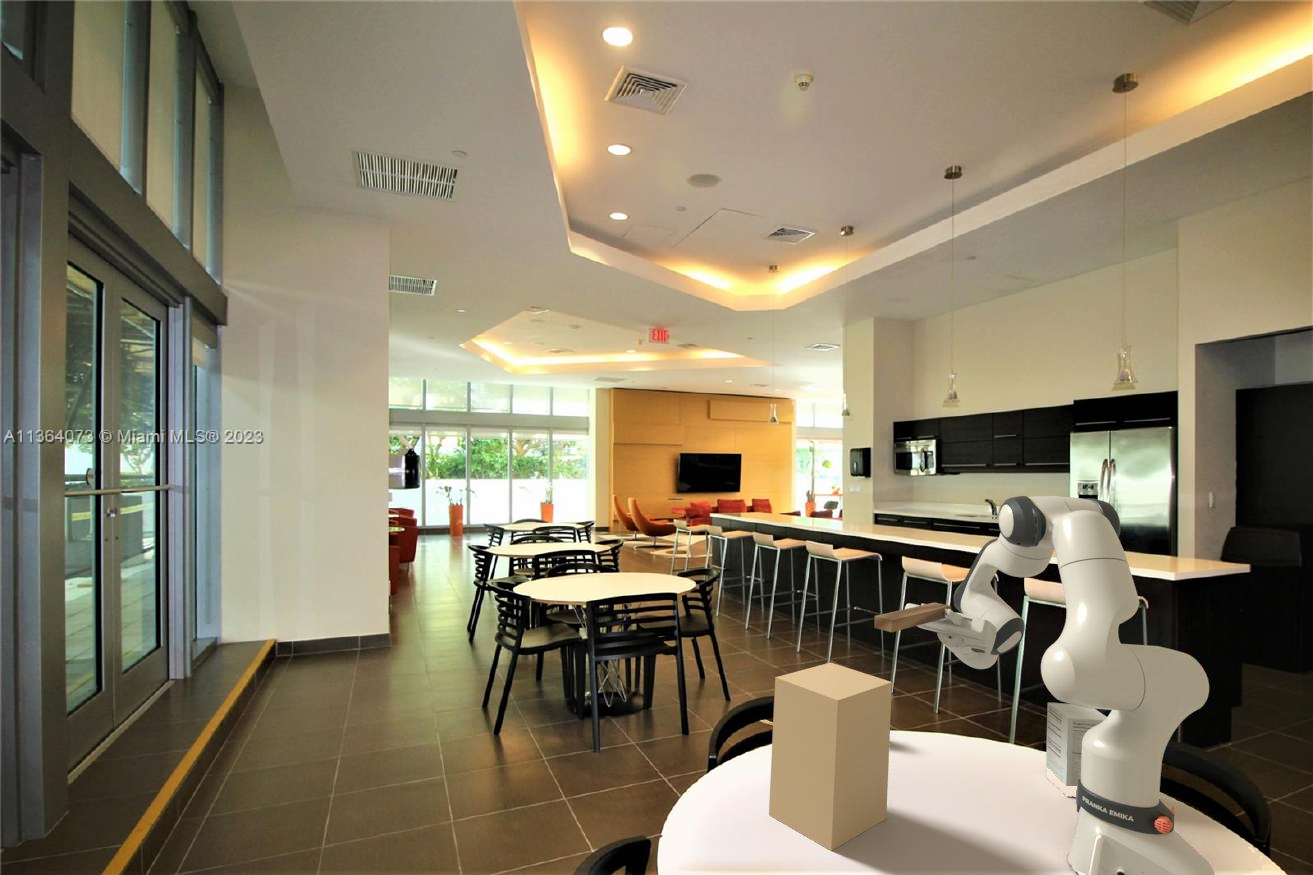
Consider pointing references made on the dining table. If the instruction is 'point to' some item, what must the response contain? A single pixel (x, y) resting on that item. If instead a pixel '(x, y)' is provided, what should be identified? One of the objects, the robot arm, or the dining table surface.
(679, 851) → the dining table surface
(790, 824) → the carton
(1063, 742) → the supplement box
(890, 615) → the slat
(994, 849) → the dining table surface
